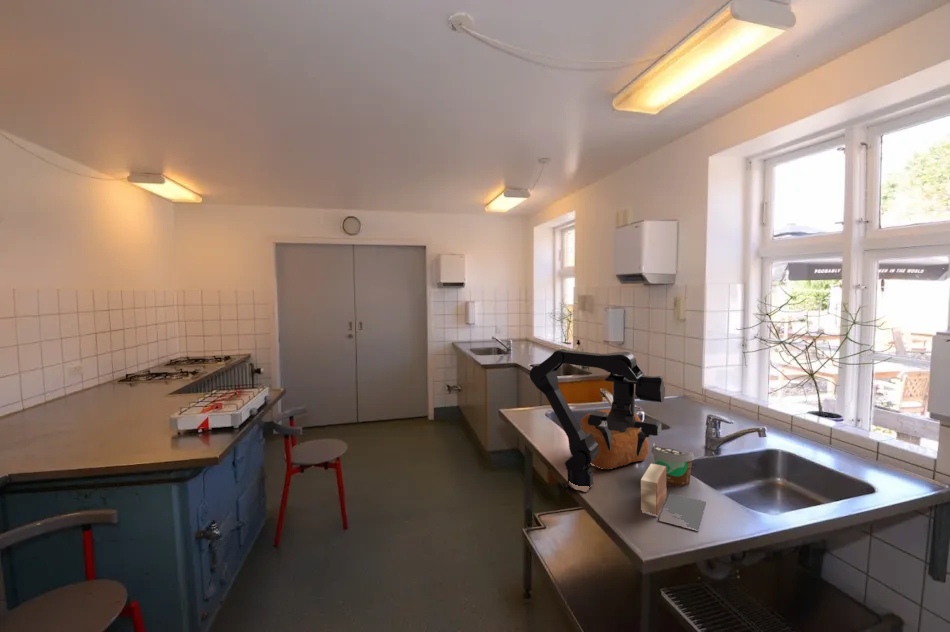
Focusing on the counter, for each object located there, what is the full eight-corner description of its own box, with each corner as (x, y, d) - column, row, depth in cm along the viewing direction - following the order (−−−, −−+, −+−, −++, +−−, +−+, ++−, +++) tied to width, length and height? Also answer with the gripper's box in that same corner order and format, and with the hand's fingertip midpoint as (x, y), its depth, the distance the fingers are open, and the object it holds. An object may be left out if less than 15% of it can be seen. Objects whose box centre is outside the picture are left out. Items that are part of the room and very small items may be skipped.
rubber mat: (657, 521, 105) (657, 519, 105) (669, 494, 118) (669, 493, 118) (698, 532, 100) (698, 530, 100) (705, 503, 113) (705, 501, 113)
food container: (644, 480, 128) (644, 448, 127) (652, 473, 132) (652, 442, 132) (687, 492, 119) (687, 458, 119) (694, 485, 123) (694, 452, 123)
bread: (570, 457, 148) (569, 410, 147) (615, 445, 157) (615, 401, 156) (606, 475, 132) (605, 423, 131) (654, 461, 141) (653, 412, 140)
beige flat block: (641, 513, 109) (640, 479, 109) (651, 494, 119) (651, 463, 119) (657, 517, 107) (657, 483, 107) (666, 497, 117) (666, 466, 116)
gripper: (580, 400, 115) (581, 455, 116) (653, 409, 104) (652, 470, 105) (594, 391, 124) (594, 442, 125) (661, 399, 113) (661, 455, 114)
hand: (623, 452), depth 117 cm, fingers open, 7 cm apart
